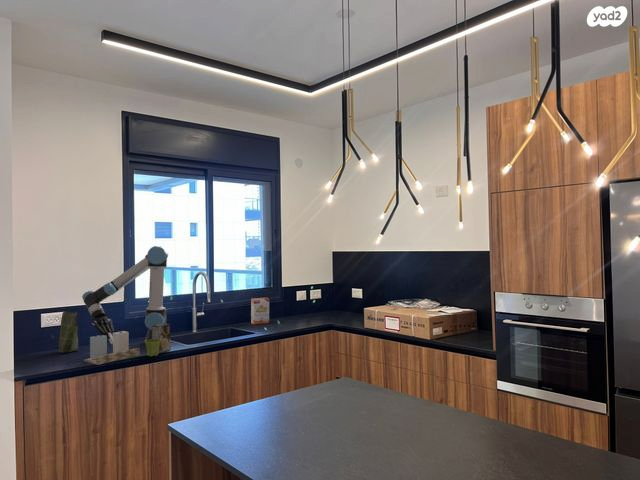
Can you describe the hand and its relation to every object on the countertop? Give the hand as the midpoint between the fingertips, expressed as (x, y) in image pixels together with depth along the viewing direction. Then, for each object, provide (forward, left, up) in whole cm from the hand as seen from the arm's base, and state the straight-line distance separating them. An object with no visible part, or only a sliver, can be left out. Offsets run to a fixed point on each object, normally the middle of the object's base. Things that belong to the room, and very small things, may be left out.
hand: (112, 342), depth 280 cm
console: (+7, +10, -7) cm, 14 cm away
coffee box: (-20, +19, -7) cm, 29 cm away
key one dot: (0, +7, -5) cm, 9 cm away
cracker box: (-127, +7, -7) cm, 128 cm away
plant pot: (-10, +24, -7) cm, 27 cm away
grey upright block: (+14, +7, -5) cm, 16 cm away
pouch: (+11, -29, -7) cm, 32 cm away
